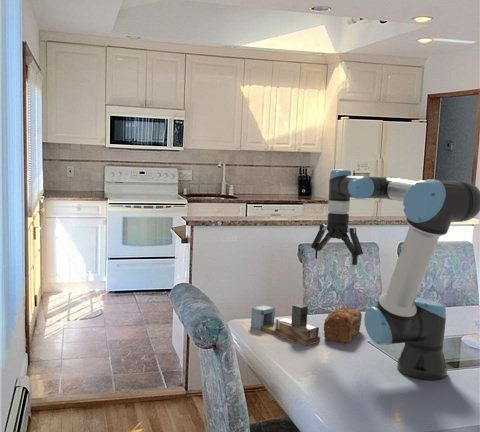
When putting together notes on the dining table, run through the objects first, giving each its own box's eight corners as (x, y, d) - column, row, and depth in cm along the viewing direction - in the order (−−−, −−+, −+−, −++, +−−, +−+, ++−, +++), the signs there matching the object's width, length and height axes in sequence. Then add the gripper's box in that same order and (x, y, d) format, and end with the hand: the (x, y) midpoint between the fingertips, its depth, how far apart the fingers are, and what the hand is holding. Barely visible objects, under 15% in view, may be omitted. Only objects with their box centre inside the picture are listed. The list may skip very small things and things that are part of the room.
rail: (320, 340, 206) (320, 327, 205) (306, 345, 200) (307, 331, 199) (264, 323, 224) (265, 310, 223) (250, 326, 218) (251, 314, 218)
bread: (349, 345, 203) (351, 318, 202) (321, 339, 207) (323, 313, 206) (361, 331, 220) (363, 306, 218) (335, 326, 224) (336, 302, 223)
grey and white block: (316, 337, 204) (317, 308, 203) (309, 339, 201) (311, 310, 200) (281, 326, 215) (283, 299, 214) (275, 328, 212) (276, 300, 211)
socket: (274, 326, 221) (275, 307, 220) (260, 330, 215) (261, 310, 214) (264, 323, 224) (265, 304, 223) (250, 326, 218) (251, 308, 217)
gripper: (375, 215, 196) (371, 275, 198) (315, 209, 212) (312, 264, 214) (364, 216, 190) (360, 277, 192) (303, 210, 207) (301, 267, 208)
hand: (335, 271), depth 203 cm, fingers open, 13 cm apart
